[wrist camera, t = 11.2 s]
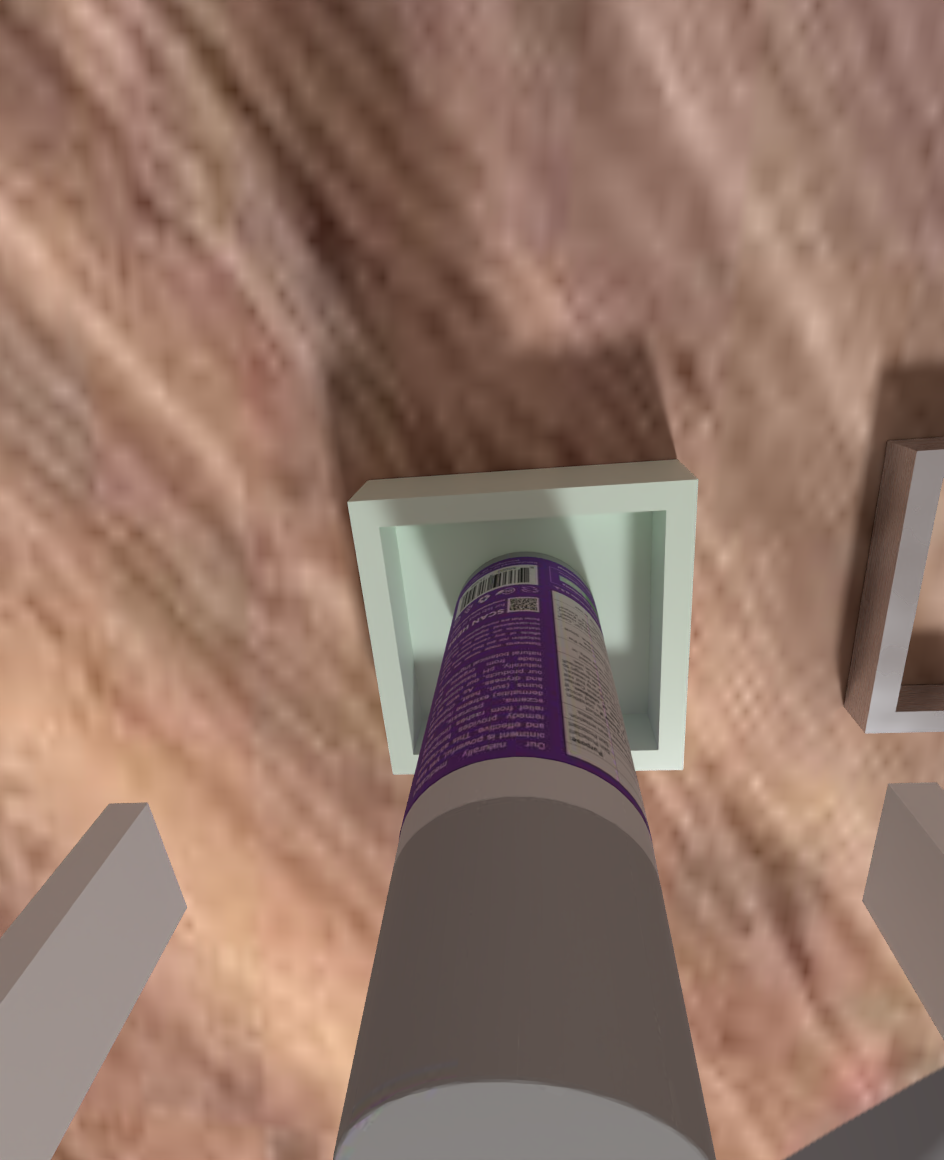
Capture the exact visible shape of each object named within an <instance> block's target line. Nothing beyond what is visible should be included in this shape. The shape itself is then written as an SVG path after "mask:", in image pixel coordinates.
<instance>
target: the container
mask: <svg viewBox="0 0 944 1160" xmlns="http://www.w3.org/2000/svg"><path fill="white" fill-rule="evenodd" d="M333 1160H716V1157H715V1152H714V1147H713V1142H712V1137H711V1132H710V1127H709V1122H708V1118H707V1113H706V1108H705V1103H704V1098H703V1093H702V1088H701V1083H700V1078H699V1073H698V1068H697V1063H696V1058H695V1053H694V1048H693V1043H692V1038H691V1033H690V1028H689V1023H688V1018H687V1014H686V1009H685V1004H684V999H683V994H682V989H681V984H680V979H679V974H678V969H677V964H676V959H675V954H674V949H673V944H672V939H671V934H670V929H669V924H668V919H667V914H666V910H665V905H664V900H663V895H662V890H661V885H660V881H659V875H658V870H657V865H656V860H655V855H654V849H653V844H652V839H651V834H650V830H649V826H648V822H647V818H646V813H645V809H644V805H643V801H642V797H641V792H640V788H639V784H638V780H637V776H636V771H635V767H634V763H633V759H632V755H631V751H630V746H629V742H628V738H627V734H626V730H625V725H624V721H623V717H622V713H621V709H620V704H619V700H618V696H617V692H616V688H615V683H614V679H613V675H612V671H611V667H610V663H609V658H608V654H607V650H606V646H605V642H604V637H603V633H602V629H601V625H600V621H599V616H598V612H597V608H596V605H595V601H594V598H593V595H592V593H591V590H590V588H589V586H588V585H587V583H586V582H585V580H584V579H583V578H582V576H581V575H580V574H579V573H578V572H577V571H576V570H575V569H573V568H572V567H571V566H570V565H568V564H567V563H565V562H563V561H562V560H560V559H558V558H555V557H553V556H550V555H547V554H543V553H538V552H513V553H508V554H505V555H501V556H498V557H496V558H494V559H492V560H490V561H488V562H486V563H485V564H483V565H482V566H480V567H479V568H478V569H477V570H475V571H474V572H473V574H472V575H471V576H470V577H469V578H468V579H467V581H466V582H465V584H464V585H463V587H462V589H461V591H460V594H459V597H458V600H457V603H456V607H455V611H454V615H453V619H452V623H451V627H450V631H449V635H448V639H447V643H446V647H445V652H444V656H443V660H442V664H441V668H440V672H439V676H438V680H437V684H436V688H435V692H434V696H433V700H432V705H431V709H430V713H429V717H428V721H427V725H426V729H425V733H424V737H423V741H422V745H421V749H420V753H419V757H418V762H417V766H416V770H415V774H414V778H413V782H412V786H411V790H410V794H409V798H408V802H407V806H406V810H405V815H404V819H403V823H402V827H401V831H400V837H399V843H398V848H397V853H396V858H395V863H394V867H393V872H392V877H391V882H390V886H389V891H388V896H387V901H386V906H385V910H384V915H383V920H382V925H381V930H380V935H379V939H378V944H377V949H376V954H375V959H374V963H373V968H372V973H371V978H370V983H369V987H368V992H367V997H366V1002H365V1007H364V1011H363V1016H362V1021H361V1026H360V1031H359V1035H358V1040H357V1045H356V1050H355V1055H354V1059H353V1064H352V1069H351V1074H350V1079H349V1083H348V1088H347V1093H346V1098H345V1103H344V1107H343V1112H342V1117H341V1122H340V1127H339V1131H338V1136H337V1141H336V1146H335V1151H334V1157H333Z"/></svg>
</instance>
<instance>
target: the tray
mask: <svg viewBox="0 0 944 1160" xmlns="http://www.w3.org/2000/svg"><path fill="white" fill-rule="evenodd" d="M697 494H698V479H697V478H696V477H695V476H694V475H693V474H692V473H691V472H690V471H689V470H688V469H687V468H686V467H685V466H684V465H683V464H682V463H681V462H680V461H679V460H678V459H674V460H660V461H645V462H630V463H615V464H600V465H586V466H571V467H556V468H541V469H526V470H512V471H497V472H482V473H467V474H452V475H437V476H423V477H408V478H393V479H378V480H368V481H367V482H366V483H365V484H364V485H363V486H362V487H361V488H360V489H359V490H358V491H357V492H356V493H355V494H354V495H353V496H352V497H351V498H350V500H349V501H348V502H347V503H348V509H349V515H350V521H351V527H352V533H353V539H354V545H355V551H356V557H357V563H358V569H359V575H360V581H361V587H362V592H363V598H364V604H365V610H366V616H367V622H368V628H369V634H370V640H371V646H372V652H373V658H374V664H375V670H376V676H377V682H378V688H379V694H380V700H381V706H382V711H383V717H384V723H385V729H386V735H387V741H388V747H389V753H390V759H391V765H392V771H393V774H415V770H416V766H417V762H418V757H419V753H420V749H421V745H422V741H423V737H424V733H425V729H426V725H427V721H428V717H429V713H430V709H431V705H432V700H433V696H434V692H435V688H436V684H437V680H438V676H439V672H440V668H441V664H442V660H443V656H444V652H445V647H446V643H447V639H448V635H449V631H450V627H451V623H452V619H453V615H454V611H455V607H456V603H457V600H458V597H459V594H460V591H461V589H462V587H463V585H464V584H465V582H466V581H467V579H468V578H469V577H470V576H471V575H472V574H473V572H474V571H475V570H477V569H478V568H479V567H480V566H482V565H483V564H485V563H486V562H488V561H490V560H492V559H494V558H496V557H498V556H501V555H505V554H508V553H513V552H538V553H543V554H547V555H550V556H553V557H555V558H558V559H560V560H562V561H563V562H565V563H567V564H568V565H570V566H571V567H572V568H573V569H575V570H576V571H577V572H578V573H579V574H580V575H581V576H582V578H583V579H584V580H585V582H586V583H587V585H588V586H589V588H590V590H591V593H592V595H593V598H594V601H595V605H596V608H597V612H598V616H599V621H600V625H601V629H602V633H603V637H604V642H605V646H606V650H607V654H608V658H609V663H610V667H611V671H612V675H613V679H614V683H615V688H616V692H617V696H618V700H619V704H620V709H621V713H622V717H623V721H624V725H625V730H626V734H627V738H628V742H629V746H630V751H631V755H632V759H633V763H634V767H635V771H643V770H683V763H684V744H685V725H686V706H687V686H688V667H689V648H690V629H691V609H692V590H693V571H694V552H695V532H696V513H697Z"/></svg>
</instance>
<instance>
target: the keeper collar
mask: <svg viewBox="0 0 944 1160" xmlns="http://www.w3.org/2000/svg"><path fill="white" fill-rule="evenodd" d="M943 478H944V437H935V438H920V439H906V440H891V441H888V442H887V448H886V454H885V460H884V466H883V473H882V479H881V485H880V491H879V497H878V503H877V509H876V515H875V521H874V527H873V533H872V539H871V545H870V551H869V557H868V563H867V569H866V575H865V581H864V587H863V593H862V599H861V605H860V611H859V618H858V624H857V630H856V636H855V642H854V648H853V654H852V660H851V666H850V672H849V678H848V684H847V690H846V696H845V702H844V708H845V709H846V710H847V712H848V713H849V714H850V715H851V717H852V718H853V719H854V720H855V721H856V723H857V724H858V725H859V726H860V728H861V729H862V730H863V731H864V733H903V732H944V684H938V685H903V686H901V682H902V677H903V672H904V667H905V662H906V657H907V652H908V648H909V643H910V638H911V633H912V628H913V623H914V618H915V613H916V608H917V603H918V598H919V594H920V589H921V584H922V579H923V574H924V569H925V564H926V559H927V554H928V549H929V544H930V539H931V535H932V530H933V525H934V520H935V515H936V510H937V505H938V500H939V495H940V490H941V485H942V481H943Z"/></svg>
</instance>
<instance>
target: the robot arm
mask: <svg viewBox="0 0 944 1160" xmlns="http://www.w3.org/2000/svg"><path fill="white" fill-rule="evenodd" d="M862 901H863V903H864V904H865V906H866V908H867V909H868V911H869V913H870V915H871V916H872V918H873V920H874V921H875V923H876V925H877V927H878V928H879V930H880V932H881V933H882V935H883V937H884V939H885V940H886V942H887V944H888V945H889V947H890V949H891V951H892V952H893V954H894V956H895V957H896V959H897V961H898V963H899V964H900V966H901V968H902V969H903V971H904V973H905V975H906V976H907V978H908V980H909V981H910V983H911V985H912V986H913V988H914V990H915V992H916V993H917V995H918V997H919V998H920V1000H921V1002H922V1004H923V1005H924V1007H925V1009H926V1010H927V1012H928V1014H929V1016H930V1017H931V1019H932V1021H933V1022H934V1024H935V1026H936V1028H937V1029H938V1031H939V1033H940V1034H941V1036H942V1038H943V1040H944V790H943V789H942V788H941V787H940V786H939V785H938V784H937V782H932V783H894V784H888V787H887V791H886V796H885V800H884V805H883V809H882V814H881V818H880V823H879V827H878V832H877V836H876V841H875V846H874V850H873V855H872V859H871V864H870V868H869V873H868V877H867V882H866V886H865V891H864V895H863V900H862ZM186 909H187V906H186V903H185V900H184V898H183V895H182V892H181V890H180V887H179V884H178V882H177V879H176V876H175V874H174V871H173V868H172V866H171V863H170V860H169V858H168V855H167V852H166V850H165V847H164V844H163V842H162V839H161V836H160V834H159V831H158V828H157V826H156V823H155V820H154V818H153V815H152V812H151V810H150V807H149V804H148V803H115V804H109V805H108V806H107V807H106V808H105V810H104V811H103V812H102V813H101V814H100V816H99V817H98V818H97V819H96V821H95V822H94V823H93V824H92V826H91V827H90V828H89V829H88V831H87V832H86V833H85V834H84V835H83V837H82V838H81V839H80V840H79V842H78V843H77V844H76V845H75V847H74V848H73V849H72V850H71V852H70V853H69V854H68V855H67V856H66V858H65V859H64V860H63V861H62V863H61V864H60V865H59V866H58V868H57V869H56V870H55V871H54V873H53V874H52V875H51V876H50V878H49V879H48V880H47V881H46V882H45V884H44V885H43V886H42V887H41V889H40V890H39V891H38V892H37V894H36V895H35V896H34V897H33V899H32V900H31V901H30V902H29V903H28V905H27V906H26V907H25V908H24V910H23V911H22V912H21V913H20V915H19V916H18V917H17V918H16V920H15V921H14V922H13V923H12V924H11V926H10V927H9V928H8V929H7V931H6V932H5V933H4V934H3V936H2V937H1V938H0V1160H51V1158H52V1156H53V1154H54V1153H55V1151H56V1149H57V1147H58V1145H59V1143H60V1141H61V1140H62V1138H63V1136H64V1134H65V1132H66V1130H67V1129H68V1127H69V1125H70V1123H71V1121H72V1119H73V1117H74V1116H75V1114H76V1112H77V1110H78V1108H79V1106H80V1104H81V1103H82V1101H83V1099H84V1097H85V1095H86V1093H87V1092H88V1090H89V1088H90V1086H91V1084H92V1082H93V1080H94V1079H95V1077H96V1075H97V1073H98V1071H99V1069H100V1068H101V1066H102V1064H103V1062H104V1060H105V1058H106V1056H107V1055H108V1053H109V1051H110V1049H111V1047H112V1045H113V1043H114V1042H115V1040H116V1038H117V1036H118V1034H119V1032H120V1031H121V1029H122V1027H123V1025H124V1023H125V1021H126V1019H127V1018H128V1016H129V1014H130V1012H131V1010H132V1008H133V1006H134V1005H135V1003H136V1001H137V999H138V997H139V995H140V994H141V992H142V990H143V988H144V986H145V984H146V982H147V981H148V979H149V977H150V975H151V973H152V971H153V970H154V968H155V966H156V964H157V962H158V960H159V958H160V957H161V955H162V953H163V951H164V949H165V947H166V945H167V944H168V942H169V940H170V938H171V936H172V934H173V933H174V931H175V929H176V927H177V925H178V923H179V921H180V920H181V918H182V916H183V914H184V912H185V910H186Z"/></svg>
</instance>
